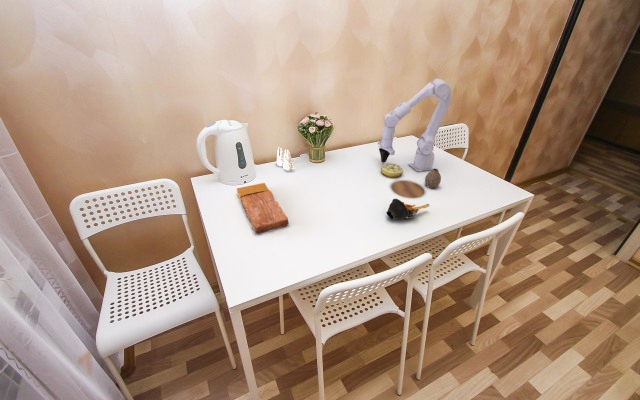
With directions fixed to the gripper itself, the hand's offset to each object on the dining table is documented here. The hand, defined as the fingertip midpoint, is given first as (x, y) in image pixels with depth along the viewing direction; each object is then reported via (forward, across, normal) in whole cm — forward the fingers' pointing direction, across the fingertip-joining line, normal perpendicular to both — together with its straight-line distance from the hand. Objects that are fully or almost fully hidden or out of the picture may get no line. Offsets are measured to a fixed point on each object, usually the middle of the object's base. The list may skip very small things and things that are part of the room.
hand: (383, 161), depth 154 cm
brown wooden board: (+2, +23, -68) cm, 72 cm away
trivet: (+2, +25, 0) cm, 25 cm away
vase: (+2, +25, +12) cm, 28 cm away
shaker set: (+2, -10, -51) cm, 52 cm away
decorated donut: (+2, +9, 0) cm, 9 cm away
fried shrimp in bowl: (+2, +43, -12) cm, 45 cm away
